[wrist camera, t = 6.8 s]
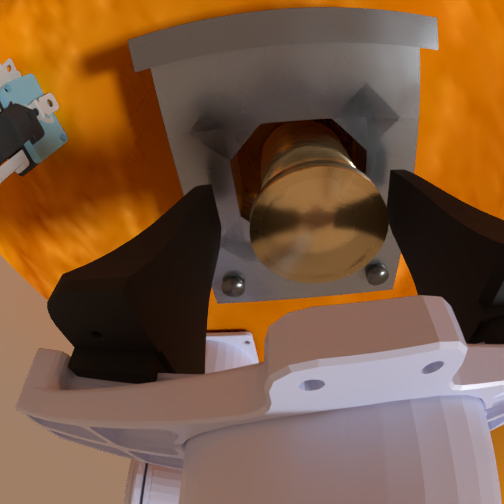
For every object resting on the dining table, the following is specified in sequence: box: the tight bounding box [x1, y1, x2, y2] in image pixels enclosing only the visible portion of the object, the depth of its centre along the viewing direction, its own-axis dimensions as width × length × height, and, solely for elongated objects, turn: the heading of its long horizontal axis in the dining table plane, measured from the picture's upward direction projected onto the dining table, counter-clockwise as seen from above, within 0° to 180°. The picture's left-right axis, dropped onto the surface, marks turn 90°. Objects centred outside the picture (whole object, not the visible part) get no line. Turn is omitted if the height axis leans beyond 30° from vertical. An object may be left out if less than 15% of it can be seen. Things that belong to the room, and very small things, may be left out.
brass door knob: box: [250, 120, 389, 283], centre depth 12 cm, size 5×5×6 cm
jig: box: [128, 7, 438, 303], centre depth 13 cm, size 14×10×4 cm
